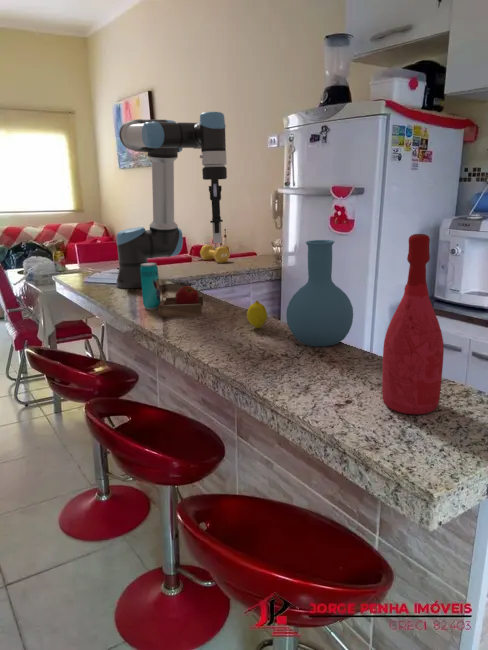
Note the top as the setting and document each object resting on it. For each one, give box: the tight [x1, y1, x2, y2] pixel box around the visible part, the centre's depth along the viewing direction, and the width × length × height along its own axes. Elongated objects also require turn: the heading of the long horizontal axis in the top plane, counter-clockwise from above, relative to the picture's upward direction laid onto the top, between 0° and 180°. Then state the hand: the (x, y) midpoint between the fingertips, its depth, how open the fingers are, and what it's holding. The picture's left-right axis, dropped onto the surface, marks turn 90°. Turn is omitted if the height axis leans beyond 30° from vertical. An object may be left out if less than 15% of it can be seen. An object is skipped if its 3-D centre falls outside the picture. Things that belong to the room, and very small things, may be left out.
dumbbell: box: [199, 244, 231, 264], centre depth 271 cm, size 19×9×8 cm, turn 34°
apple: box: [174, 285, 200, 305], centre depth 164 cm, size 8×8×8 cm
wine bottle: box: [381, 233, 445, 415], centre depth 85 cm, size 10×10×30 cm
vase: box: [285, 239, 354, 347], centre depth 124 cm, size 16×17×25 cm
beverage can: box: [140, 262, 162, 311], centre depth 167 cm, size 6×6×15 cm
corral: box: [157, 295, 204, 318], centre depth 163 cm, size 13×13×4 cm
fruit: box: [246, 300, 268, 329], centre depth 140 cm, size 6×6×8 cm
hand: (217, 242), depth 162 cm, fingers closed
